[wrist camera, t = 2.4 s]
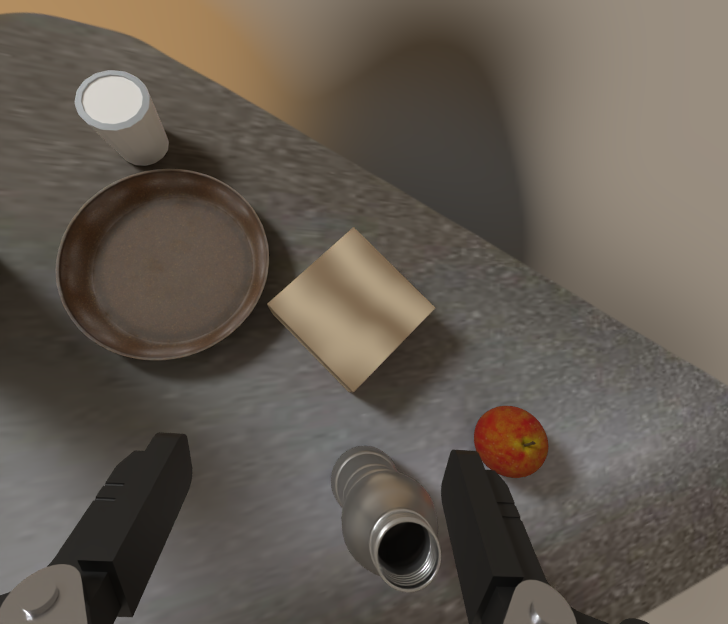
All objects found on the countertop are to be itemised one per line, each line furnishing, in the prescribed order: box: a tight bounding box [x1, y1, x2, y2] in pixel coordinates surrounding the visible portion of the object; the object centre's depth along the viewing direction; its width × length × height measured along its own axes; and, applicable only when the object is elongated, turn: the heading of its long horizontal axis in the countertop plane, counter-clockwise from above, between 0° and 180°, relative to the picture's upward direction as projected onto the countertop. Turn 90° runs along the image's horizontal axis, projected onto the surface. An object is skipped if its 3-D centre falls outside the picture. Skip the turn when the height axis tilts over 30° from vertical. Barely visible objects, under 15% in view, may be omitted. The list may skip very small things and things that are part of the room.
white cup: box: [75, 70, 169, 166], centre depth 41 cm, size 7×7×7 cm
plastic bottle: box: [331, 446, 441, 592], centre depth 30 cm, size 6×7×20 cm
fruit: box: [474, 406, 548, 478], centre depth 38 cm, size 7×7×8 cm
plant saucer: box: [56, 169, 269, 360], centre depth 40 cm, size 21×21×3 cm
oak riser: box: [267, 227, 435, 392], centre depth 41 cm, size 12×12×5 cm
